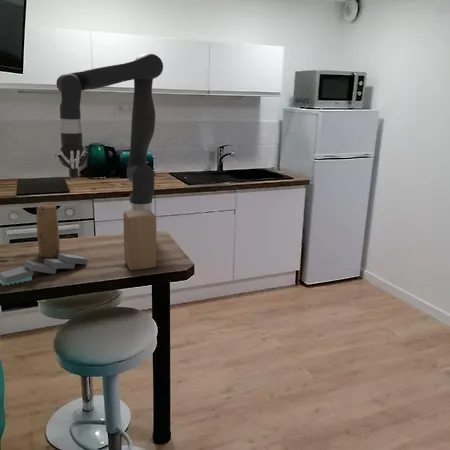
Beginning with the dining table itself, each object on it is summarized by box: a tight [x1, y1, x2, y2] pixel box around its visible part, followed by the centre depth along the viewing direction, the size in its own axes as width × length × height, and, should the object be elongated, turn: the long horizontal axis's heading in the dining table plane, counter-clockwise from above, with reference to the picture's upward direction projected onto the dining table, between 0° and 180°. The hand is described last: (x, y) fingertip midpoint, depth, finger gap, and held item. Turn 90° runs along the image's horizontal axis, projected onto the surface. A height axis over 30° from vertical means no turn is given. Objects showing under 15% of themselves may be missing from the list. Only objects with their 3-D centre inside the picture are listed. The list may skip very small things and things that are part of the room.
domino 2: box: [0, 276, 33, 287], centre depth 149 cm, size 2×5×9 cm
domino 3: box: [23, 260, 58, 275], centre depth 153 cm, size 2×5×9 cm
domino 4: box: [43, 258, 76, 270], centre depth 158 cm, size 2×5×9 cm
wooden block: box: [122, 209, 157, 271], centre depth 164 cm, size 10×10×20 cm
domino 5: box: [57, 252, 89, 265], centre depth 162 cm, size 2×5×9 cm
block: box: [36, 201, 61, 259], centre depth 171 cm, size 11×8×20 cm
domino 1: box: [0, 265, 34, 283], centre depth 148 cm, size 2×5×9 cm
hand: (73, 178), depth 170 cm, fingers closed
